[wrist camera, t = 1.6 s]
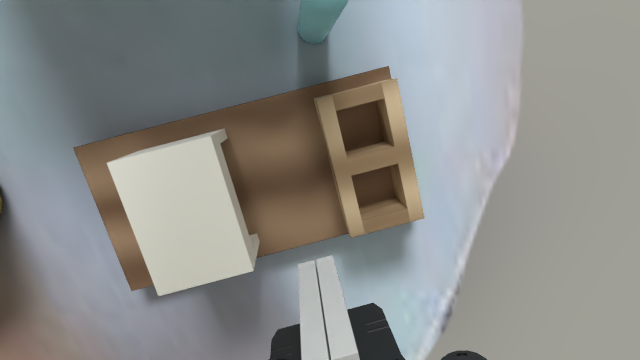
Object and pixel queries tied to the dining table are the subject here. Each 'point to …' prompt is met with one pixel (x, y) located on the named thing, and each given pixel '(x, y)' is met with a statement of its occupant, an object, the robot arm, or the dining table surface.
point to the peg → (318, 18)
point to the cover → (185, 212)
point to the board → (287, 166)
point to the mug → (0, 204)
